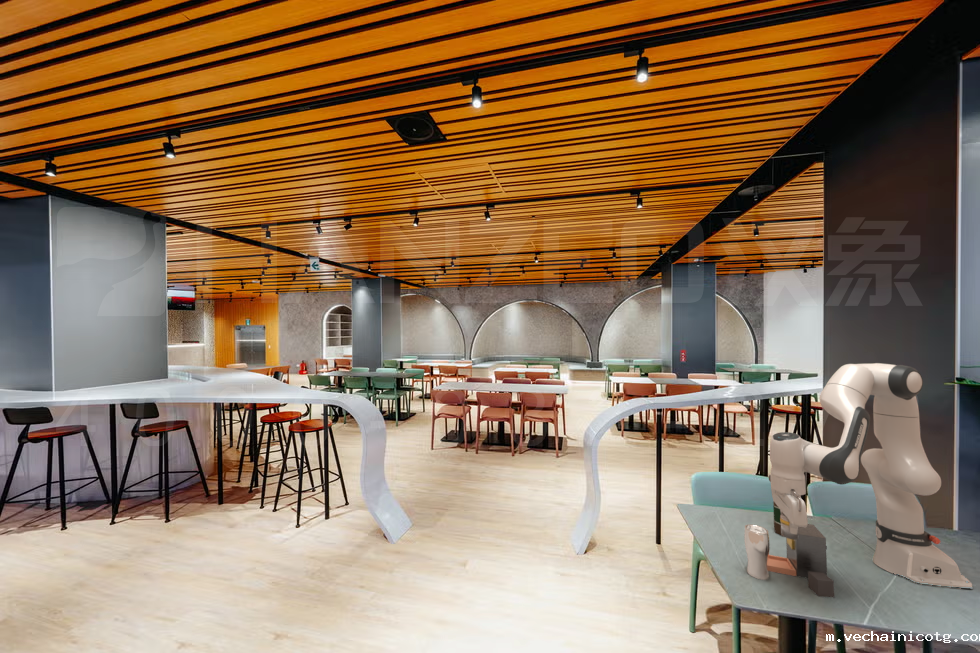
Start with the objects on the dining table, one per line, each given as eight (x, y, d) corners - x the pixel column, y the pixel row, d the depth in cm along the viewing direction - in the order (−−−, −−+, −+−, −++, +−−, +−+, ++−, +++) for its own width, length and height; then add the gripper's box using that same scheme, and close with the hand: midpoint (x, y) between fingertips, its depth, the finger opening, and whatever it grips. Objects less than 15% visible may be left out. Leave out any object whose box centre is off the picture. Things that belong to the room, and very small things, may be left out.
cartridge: (796, 533, 123) (795, 515, 123) (801, 540, 119) (800, 521, 119) (778, 531, 125) (778, 512, 125) (783, 538, 120) (782, 518, 121)
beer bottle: (769, 528, 160) (767, 470, 161) (789, 529, 159) (788, 471, 160) (781, 537, 152) (779, 476, 153) (802, 539, 151) (800, 477, 152)
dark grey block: (816, 565, 133) (815, 524, 134) (829, 582, 124) (827, 538, 124) (785, 560, 136) (784, 520, 137) (795, 576, 127) (794, 533, 128)
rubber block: (823, 588, 121) (823, 572, 121) (834, 597, 117) (833, 581, 117) (808, 587, 121) (808, 571, 122) (818, 596, 117) (817, 579, 117)
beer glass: (763, 583, 123) (762, 536, 124) (740, 571, 130) (739, 526, 130) (774, 577, 127) (773, 531, 127) (752, 566, 133) (751, 522, 133)
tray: (788, 563, 134) (788, 558, 135) (796, 576, 127) (796, 570, 127) (761, 558, 137) (760, 553, 138) (767, 570, 130) (767, 565, 130)
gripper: (813, 498, 112) (815, 546, 111) (788, 475, 130) (790, 516, 130) (787, 495, 114) (789, 542, 113) (766, 473, 133) (768, 513, 132)
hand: (789, 528), depth 122 cm, fingers closed on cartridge, 5 cm apart
